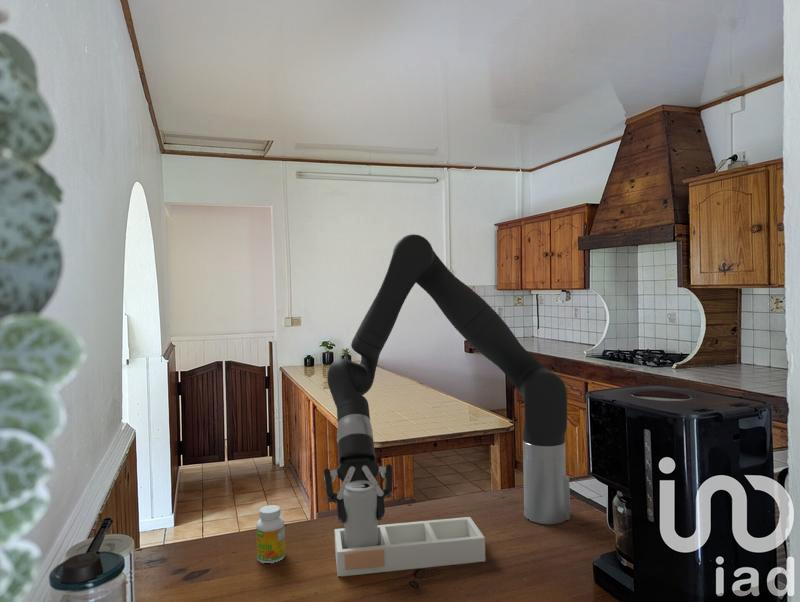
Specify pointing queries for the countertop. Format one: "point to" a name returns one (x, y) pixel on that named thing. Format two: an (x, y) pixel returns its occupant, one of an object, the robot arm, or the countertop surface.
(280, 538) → the supplement bottle
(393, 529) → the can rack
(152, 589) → the countertop surface
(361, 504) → the beverage can
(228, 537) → the countertop surface
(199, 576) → the countertop surface
